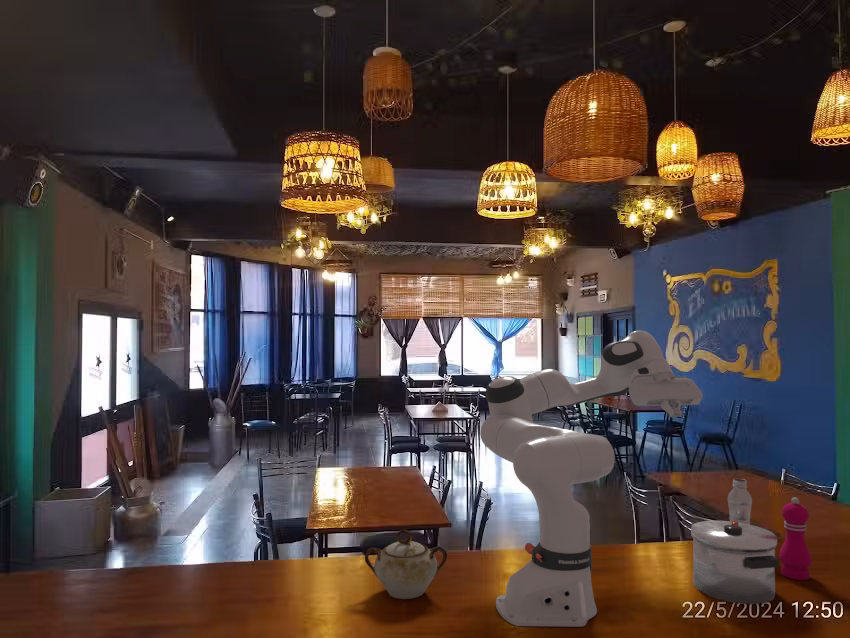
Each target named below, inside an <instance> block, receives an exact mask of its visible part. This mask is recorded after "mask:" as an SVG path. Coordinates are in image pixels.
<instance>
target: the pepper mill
mask: <svg viewBox="0 0 850 638" xmlns="http://www.w3.org/2000/svg"><path fill="white" fill-rule="evenodd" d="M809 514H810V513H809V511H808V508H807V507H806V506H804V505H803V504H801V503H800V499H799V497H792V498H791V502H789V503H786V504H784V506H783V507H782V509H781V515H782V517H783V519H784V522H783V523H784V525H783V526H784V528H785V530H786V533H785V539H784V542H783V543H782V546H781V548H780V551H779V554H778V555H779V556H778V557H779V558H778V559H779V562H781V563H782V564H783V565H781V570H780V571H781V575H783V576H784V577H785V578H787V579H791V580H796V579H797V580H796V581H806V580H807V581H808V580H809V579H810V570H809V569H808V568H809V567H811V565H812V561H813V560H812V555H811V553H810V550H809V549H808V546H807V544H806V540H805V531H807V523H806V522H807V521H808V520H809V517H810V515H809Z"/></svg>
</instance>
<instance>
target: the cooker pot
mask: <svg viewBox="0 0 850 638" xmlns="http://www.w3.org/2000/svg"><path fill="white" fill-rule="evenodd" d="M692 539H693V540H692V543H693V544H692V546H693V548H692V550H693V551H692V552H693V553H692V557H693V558H692V560H693V561H692V562H693V565H692V566H693V567H692V574H693V575H692V579H693V580H692V583H693V586H694V585H695V586H694V587H695V588H696V589H697V590H698V591H699V590H700V591H699V592H701V591H702V592H703V594H704V593H705V594H704V595H706V594H707V595H706V596H708V595H709V596H708V597H710V598H711V597H712V598H715V599H717V600H721V601H725V602H728V603H735V604H741V603H742V604H743V605H760V603H761V604H766V603H770V602H772V601H773V600H774V599H775V597H776V568H779V567H780V558H777V557H776V548H775V549H773V550H770V551H765V552H739V551H731V550H725V549H720V548H716V547H713V546H709V545H706V544H704V543H701V542H699V541H697V540H696V539H694V538H693V537H692ZM702 592H701V593H702Z"/></svg>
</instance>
